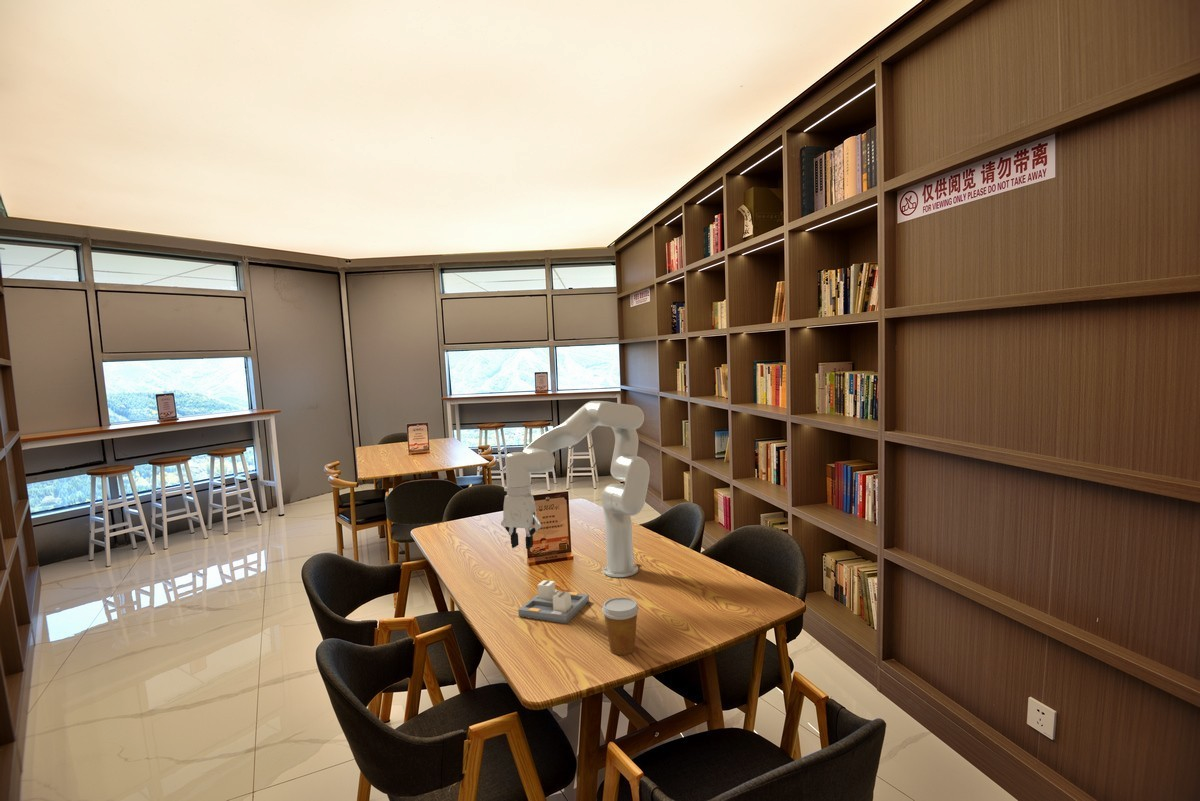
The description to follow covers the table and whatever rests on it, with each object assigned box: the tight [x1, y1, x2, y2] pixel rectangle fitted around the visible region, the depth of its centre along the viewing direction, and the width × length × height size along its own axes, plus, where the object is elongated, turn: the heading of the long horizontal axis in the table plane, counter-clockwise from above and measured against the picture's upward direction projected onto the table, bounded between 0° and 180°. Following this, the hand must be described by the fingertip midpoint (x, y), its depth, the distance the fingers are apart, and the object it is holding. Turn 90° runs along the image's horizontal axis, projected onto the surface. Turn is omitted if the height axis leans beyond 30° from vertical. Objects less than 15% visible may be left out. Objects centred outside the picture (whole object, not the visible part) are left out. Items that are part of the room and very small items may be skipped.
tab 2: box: [537, 579, 556, 600], centre depth 174 cm, size 4×4×5 cm
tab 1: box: [553, 591, 571, 613], centre depth 164 cm, size 4×4×5 cm
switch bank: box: [517, 589, 590, 624], centre depth 169 cm, size 16×16×2 cm
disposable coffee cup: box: [601, 596, 640, 656], centre depth 142 cm, size 10×10×12 cm
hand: (522, 546), depth 176 cm, fingers open, 4 cm apart
